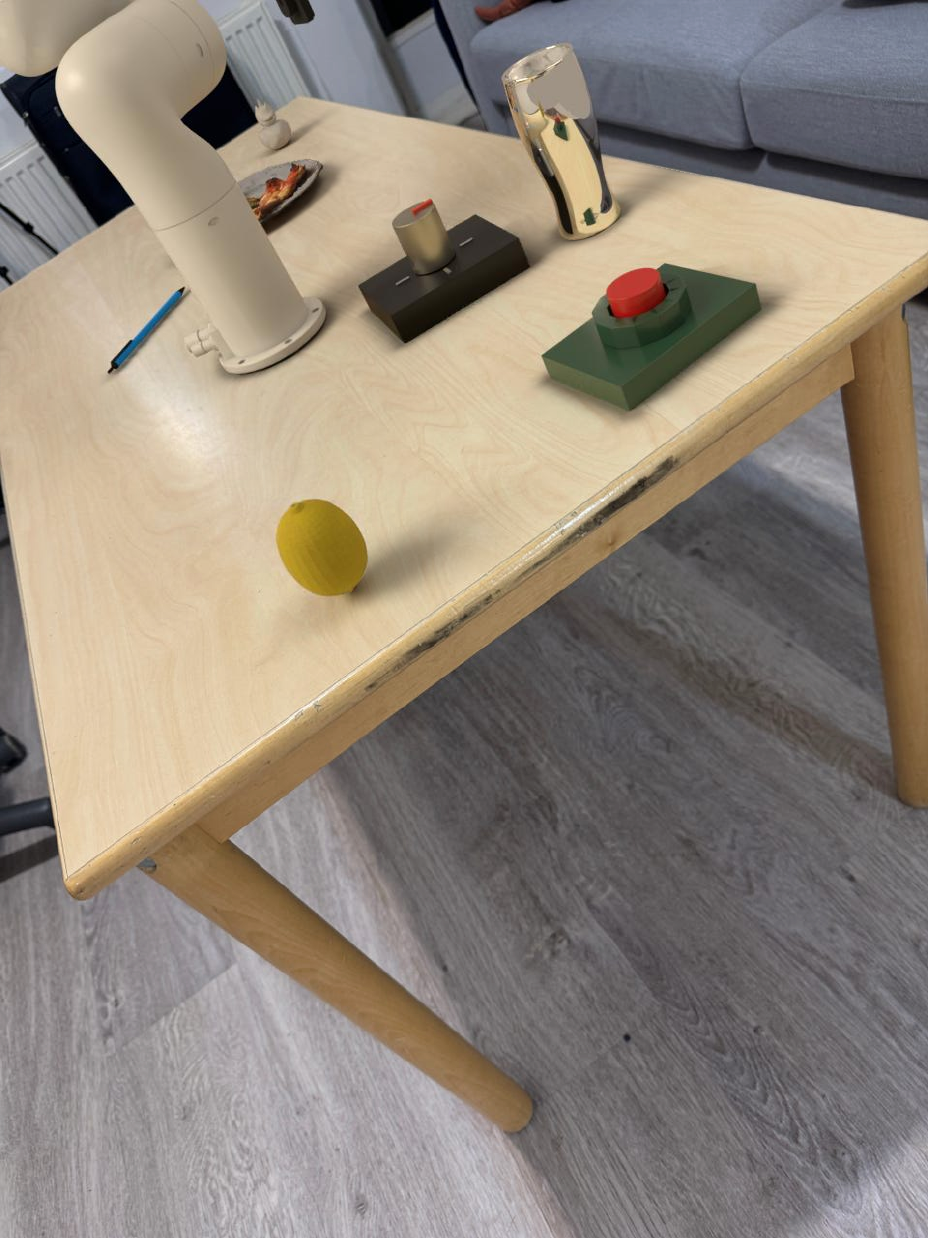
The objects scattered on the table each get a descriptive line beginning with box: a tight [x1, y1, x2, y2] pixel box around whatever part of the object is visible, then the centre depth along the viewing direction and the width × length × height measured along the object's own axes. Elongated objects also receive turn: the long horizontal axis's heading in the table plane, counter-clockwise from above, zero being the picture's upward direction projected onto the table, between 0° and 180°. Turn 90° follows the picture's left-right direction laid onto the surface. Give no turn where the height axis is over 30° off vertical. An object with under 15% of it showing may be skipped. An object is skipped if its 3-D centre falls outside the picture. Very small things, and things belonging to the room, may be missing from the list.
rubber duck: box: [254, 98, 292, 150], centre depth 161 cm, size 5×7×8 cm
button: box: [605, 267, 666, 318], centre depth 72 cm, size 4×4×2 cm
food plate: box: [236, 158, 324, 225], centre depth 141 cm, size 25×23×4 cm
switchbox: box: [541, 262, 762, 412], centre depth 73 cm, size 13×10×4 cm
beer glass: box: [500, 42, 622, 241], centre depth 89 cm, size 7×7×15 cm
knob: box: [391, 198, 455, 275], centre depth 93 cm, size 4×4×5 cm
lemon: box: [275, 498, 369, 597], centre depth 66 cm, size 6×6×8 cm
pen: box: [107, 286, 186, 375], centre depth 124 cm, size 1×19×1 cm, turn 160°
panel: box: [357, 213, 531, 344], centre depth 96 cm, size 14×11×3 cm
